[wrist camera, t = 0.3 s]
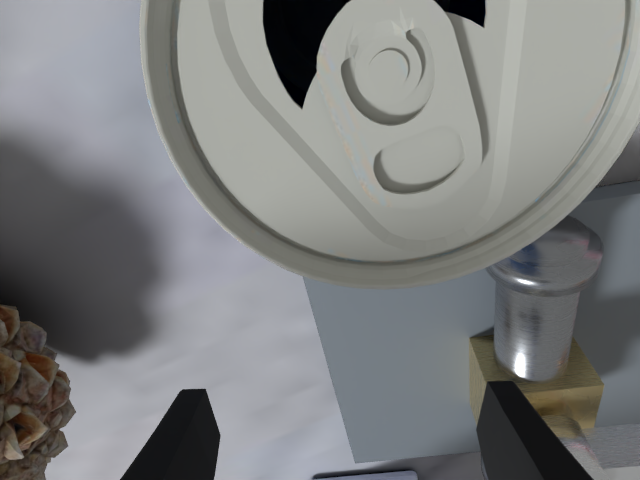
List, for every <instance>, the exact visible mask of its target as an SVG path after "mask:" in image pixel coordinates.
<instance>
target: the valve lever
mask: <svg viewBox="0 0 640 480" xmlns="http://www.w3.org/2000/svg"><path fill="white" fill-rule="evenodd" d="M542 419H543V420H544V421H545V422H546V424H547V425H548V426H549V427H550V429H551V430H552V431H553V432H554V434H555V435H556V436H557V437H558V438H559V440H560V441H561V442H562V443H563V444H564V446H565V447H566V448H567V449H568V450H569V452H570V453H571V454H572V455H573V456H574V457H575V459H576V460H577V461H578V462H579V463H580V464H581V466H582V467H583V468H584V469H585V470H586V471H587V473H588V474H589V475H590V476H591V477H592V478H593V479H594V480H640V423H637V424H626V425H616V426H606V427H595V428H585V429H582V428H581V426H580V424H579V423H578V422H577V421H576V420H574V419H572V418H569V417H566V416H559V415H551V416H543V417H542Z"/></svg>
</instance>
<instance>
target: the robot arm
mask: <svg viewBox="0 0 640 480" xmlns="http://www.w3.org/2000/svg"><path fill="white" fill-rule="evenodd" d="M476 432H477V436H478V441H479V445H480V450H481V454H482V458H483V462H484V466H485V470H486V474H487V477H488V480H594V479H593V478H592V477H591V476H590V475H589V474H588V473H587V471H586V470H585V469H584V468H583V467H582V466H581V464H580V463H579V462H578V461H577V460H576V459H575V457H574V456H573V455H572V454H571V453H570V452H569V450H568V449H567V448H566V447H565V446H564V444H563V443H562V442H561V441H560V440H559V438H558V437H557V436H556V435H555V434H554V432H553V431H552V430H551V429H550V427H549V426H548V425H547V424H546V422H545V421H544V420H543V419H542V417H541V416H540V415H539V414H538V412H537V411H536V410H535V408H534V407H533V406H532V405H531V403H530V402H529V401H528V399H527V398H526V397H525V395H524V394H523V393H522V392H521V390H520V389H519V388H518V386H517V385H516V384H515V383H514V382H513V381H487V385H486V389H485V393H484V398H483V402H482V406H481V411H480V415H479V419H478V423H477V428H476ZM219 442H220V432H219V429H218V426H217V423H216V420H215V417H214V414H213V411H212V408H211V404H210V401H209V398H208V395H207V392H206V389H183V390H181V391H180V392H179V394H178V395H177V397H176V398H175V400H174V402H173V403H172V405H171V406H170V408H169V409H168V411H167V413H166V414H165V416H164V417H163V419H162V420H161V422H160V423H159V425H158V426H157V428H156V429H155V431H154V432H153V434H152V435H151V437H150V438H149V440H148V441H147V443H146V444H145V446H144V447H143V448H142V450H141V451H140V453H139V454H138V455H137V457H136V458H135V460H134V461H133V463H132V464H131V465H130V467H129V468H128V470H127V471H126V472H125V474H124V475H123V477H122V478H121V479H120V480H214V476H215V469H216V463H217V457H218V449H219ZM313 480H418V478H417V474H416V472H414V471H400V472H389V473H378V474H366V475H355V476H344V477H333V478H322V479H313Z"/></svg>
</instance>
